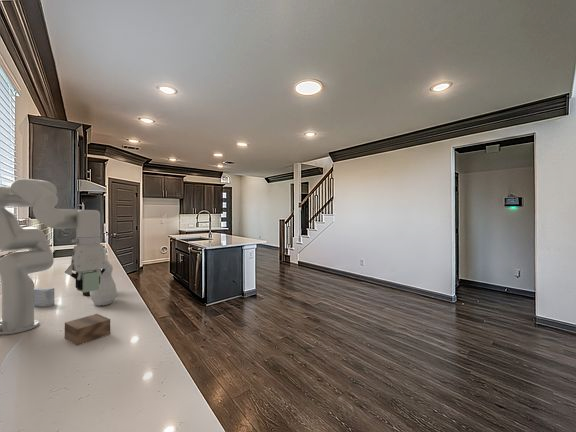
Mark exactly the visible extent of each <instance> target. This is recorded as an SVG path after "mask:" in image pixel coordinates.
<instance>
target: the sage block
mask: <svg viewBox="0 0 576 432" xmlns="http://www.w3.org/2000/svg"><path fill="white" fill-rule="evenodd" d="M81 279H82V290H78V289H77V288H76V291H78V292H82V293H83V292H84V293H85V292H90V291H95V290H99V272H98V271H94V270H93V271H87V272H83V274H82V277H81Z"/></svg>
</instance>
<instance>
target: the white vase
mask: <svg viewBox="0 0 576 432" xmlns="http://www.w3.org/2000/svg"><path fill="white" fill-rule="evenodd" d="M103 248H104V253H105V262H106V263H107V264H108V265H109V268H107V269H106V270H105V271H104V272H103V273H102V275H101V276H100V284H99V290H95V291H90V296H89V297H90V300H91V301H92V303H93V304H94V305H96V306H101V305H102V306H107V305H110V304H112V303H113V302H114V300H115V298H116V294H117V286H116V283H115V281H114V279H113V276H112V273H113V269H114V267H113V265H112V264H111V263H110V262H109V260H108V259H109V255H108V254H107V250H108V249H109V248H108V247H103ZM102 306H101V307H102Z"/></svg>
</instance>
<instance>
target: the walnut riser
mask: <svg viewBox="0 0 576 432" xmlns="http://www.w3.org/2000/svg"><path fill="white" fill-rule="evenodd" d="M108 334H109V335H111V318H108V317H106V316H104V315H101V314H99V313H94V314H91V315H88V316H84V317H81V318H77V319H73V320H69V321H65V322H64V339H65V340H67V341H68V342H70V343H72V344H74V345H76V347H77V346H81V345H83V343H84V344H87V343H89V342H92V341H95V340H98V339H100V337H101V338H103V337H102V336H104V337H106V336H105V335H107V336H109V335H108ZM97 338H98V339H97ZM94 339H95V340H94ZM91 340H92V341H91ZM88 341H89V342H88ZM86 342H87V343H86Z"/></svg>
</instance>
